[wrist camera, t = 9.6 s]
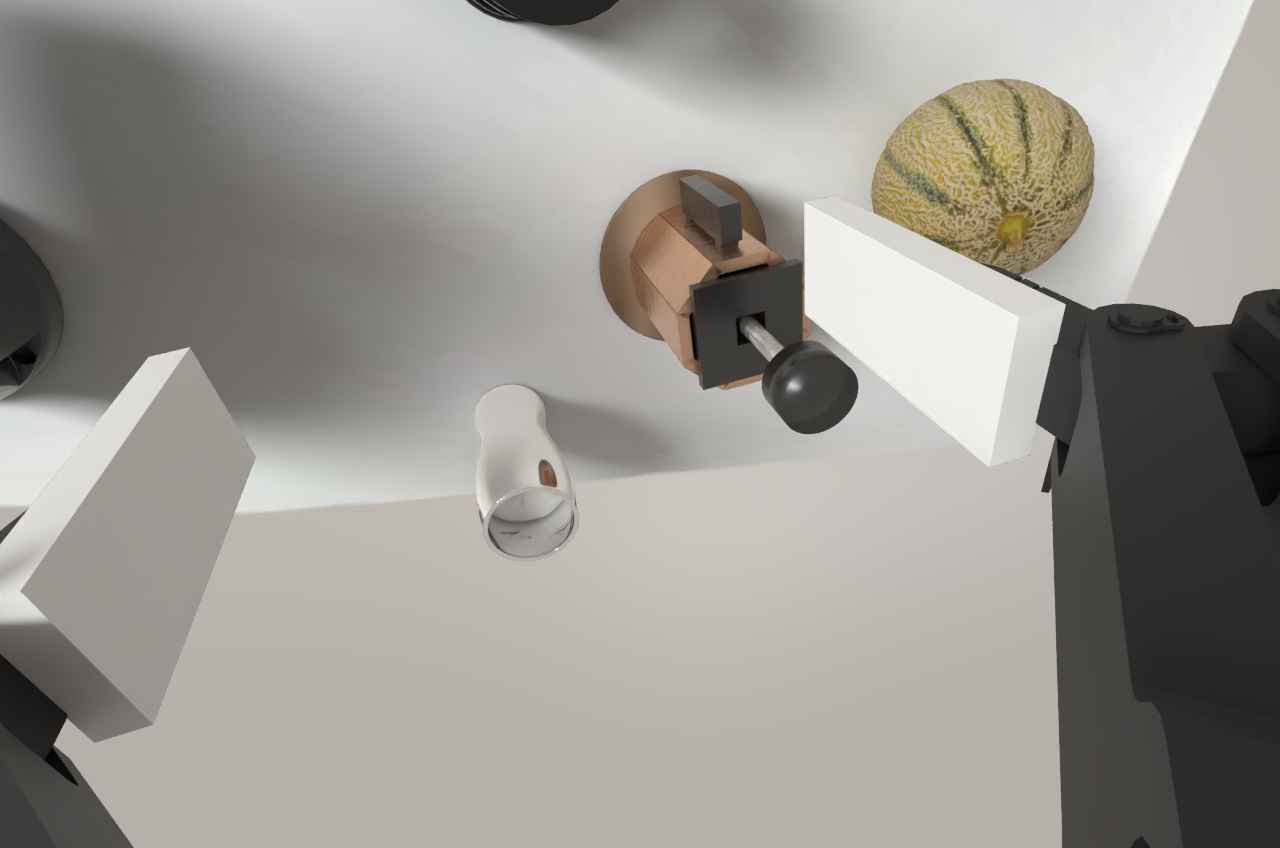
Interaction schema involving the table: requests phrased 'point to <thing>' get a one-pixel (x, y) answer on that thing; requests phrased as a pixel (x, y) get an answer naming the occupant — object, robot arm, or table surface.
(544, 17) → the french press
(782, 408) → the plunger
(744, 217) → the coaster
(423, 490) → the table surface
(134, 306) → the table surface
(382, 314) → the table surface
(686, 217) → the carafe
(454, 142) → the table surface
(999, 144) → the cantaloupe
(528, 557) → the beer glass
